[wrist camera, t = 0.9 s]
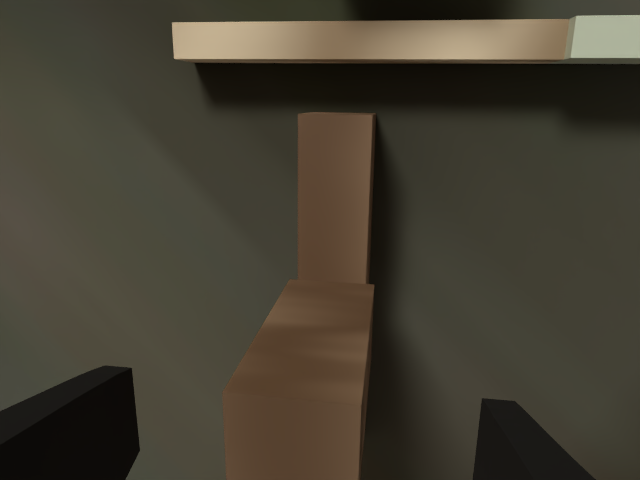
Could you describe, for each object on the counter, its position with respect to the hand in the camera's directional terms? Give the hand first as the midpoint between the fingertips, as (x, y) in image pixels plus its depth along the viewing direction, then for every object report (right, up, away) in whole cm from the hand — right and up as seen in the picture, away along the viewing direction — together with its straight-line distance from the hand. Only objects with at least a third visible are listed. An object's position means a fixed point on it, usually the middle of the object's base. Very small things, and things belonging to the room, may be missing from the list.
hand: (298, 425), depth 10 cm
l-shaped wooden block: (+1, +2, +8) cm, 8 cm away
